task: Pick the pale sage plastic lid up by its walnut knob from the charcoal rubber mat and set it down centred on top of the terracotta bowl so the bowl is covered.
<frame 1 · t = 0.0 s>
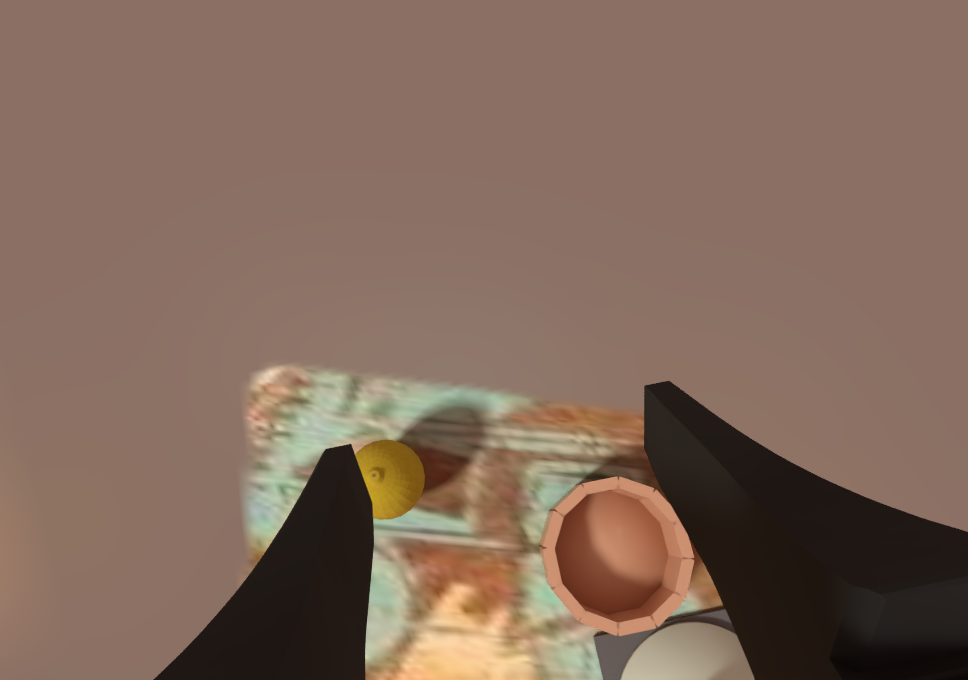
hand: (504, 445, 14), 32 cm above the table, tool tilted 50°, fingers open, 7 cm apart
lemon: (395, 482, 46), on the table
bowl: (607, 549, 44), on the table
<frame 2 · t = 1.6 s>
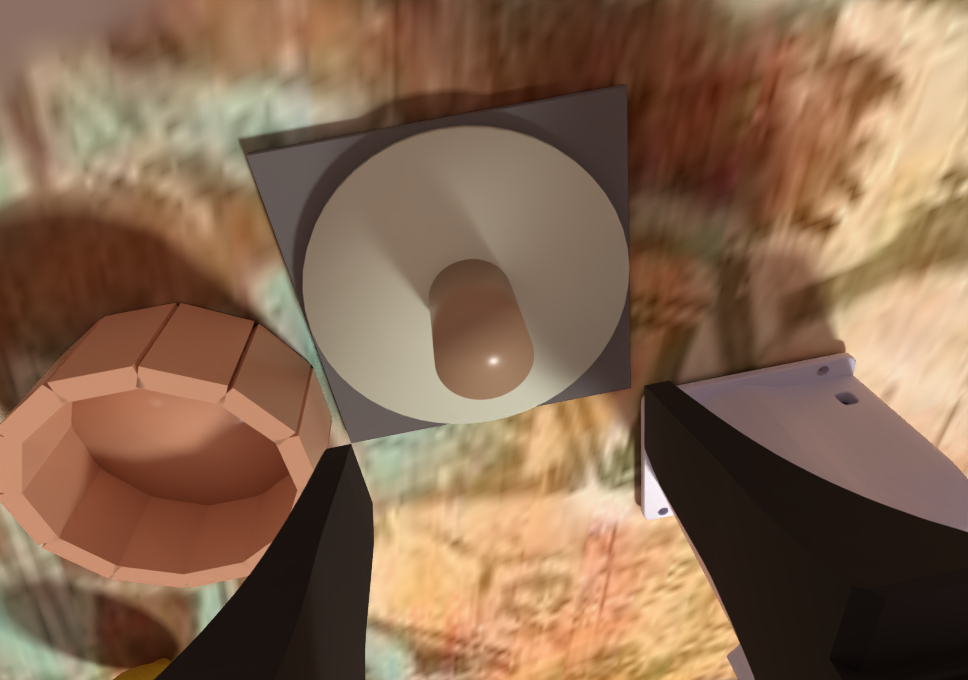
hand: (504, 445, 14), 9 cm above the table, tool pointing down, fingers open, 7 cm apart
lemon: (165, 656, 31), on the table
lid: (469, 290, 21), resting on mat
mat: (468, 285, 22), on the table
bowl: (198, 417, 23), on the table
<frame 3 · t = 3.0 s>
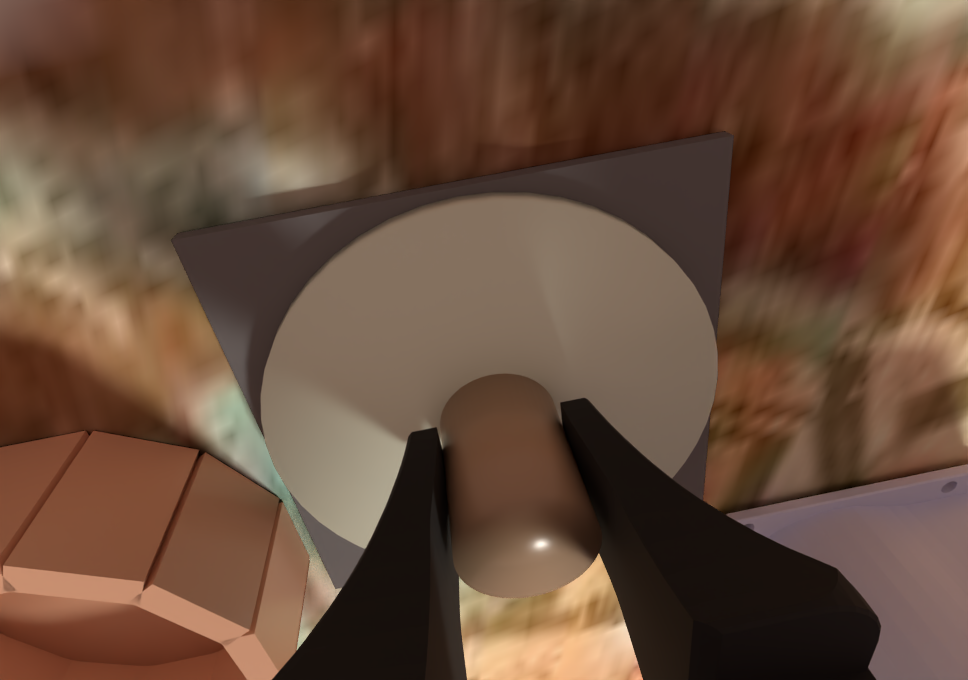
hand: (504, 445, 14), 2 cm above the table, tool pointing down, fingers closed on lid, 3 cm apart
lid: (495, 407, 15), resting on mat, touching gripper
mat: (493, 397, 16), on the table
bowl: (130, 564, 17), on the table
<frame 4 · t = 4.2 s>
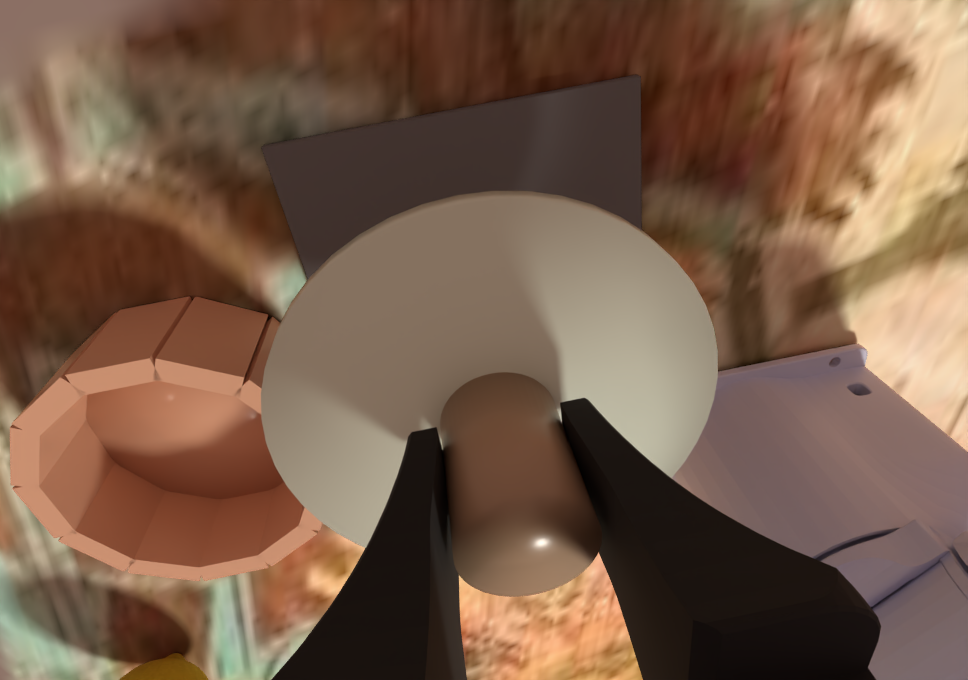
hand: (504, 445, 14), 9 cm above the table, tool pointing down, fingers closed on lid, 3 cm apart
lemon: (178, 651, 31), on the table
lid: (495, 405, 15), point 7 cm above the table, touching gripper
mat: (480, 277, 22), on the table
bowl: (212, 411, 23), on the table
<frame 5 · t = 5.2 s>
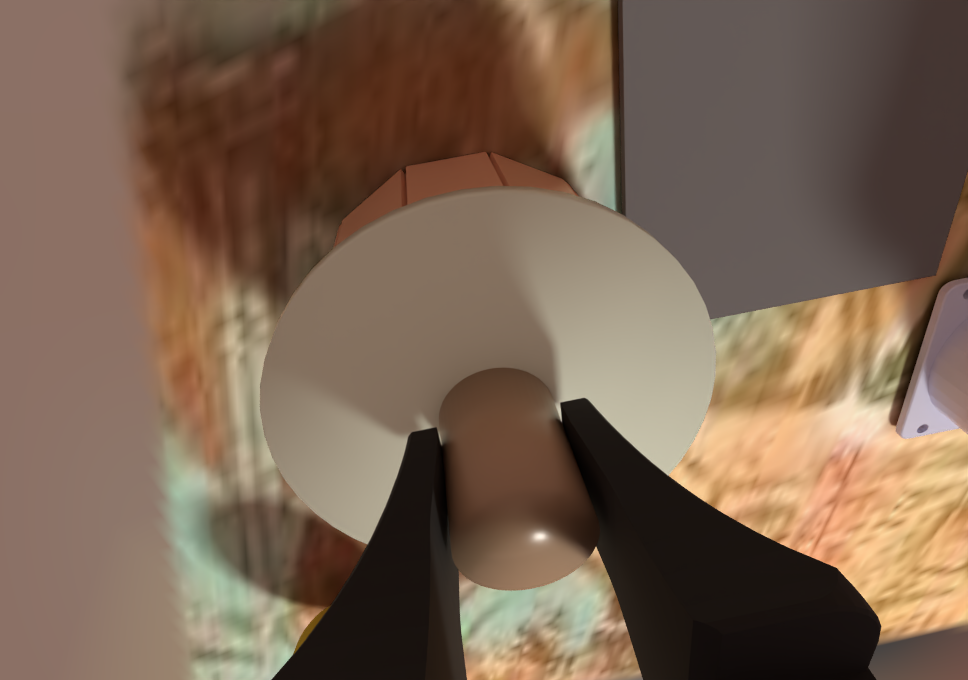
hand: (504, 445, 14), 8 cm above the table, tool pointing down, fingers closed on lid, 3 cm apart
lid: (493, 401, 15), point 6 cm above the table, touching gripper
mat: (800, 140, 19), on the table
bowl: (471, 300, 21), on the table
when the fingers open (7 cm above the table, at t = 5.7 s): lid drops 1 cm, resting on bowl.
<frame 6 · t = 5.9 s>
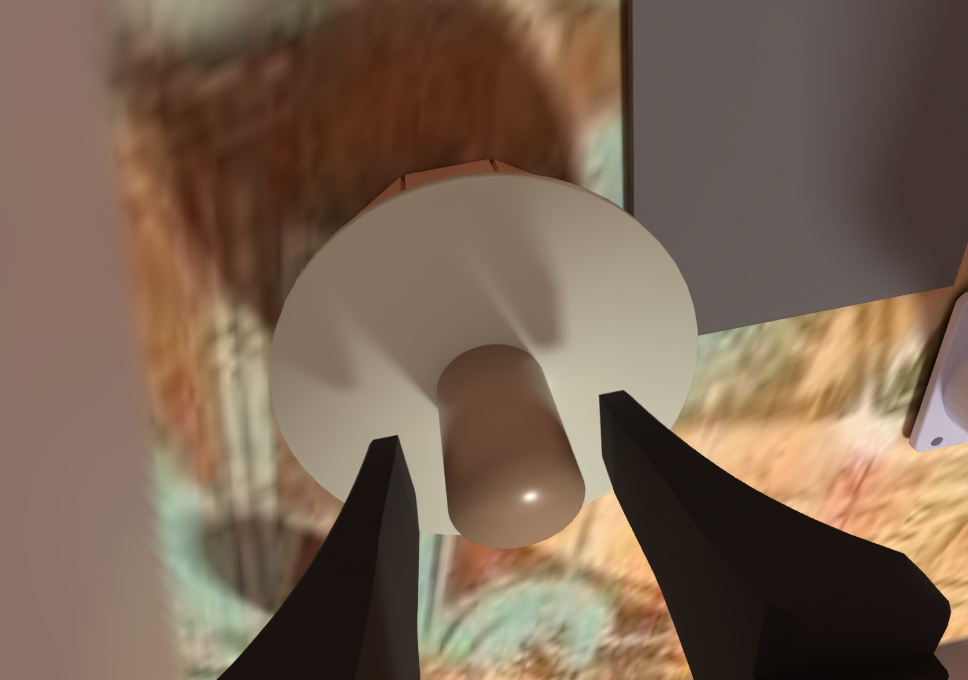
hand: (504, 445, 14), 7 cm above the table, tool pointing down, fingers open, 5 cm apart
lid: (488, 377, 16), point 4 cm above the table, touching bowl
mat: (815, 147, 18), on the table
bowl: (473, 312, 20), on the table
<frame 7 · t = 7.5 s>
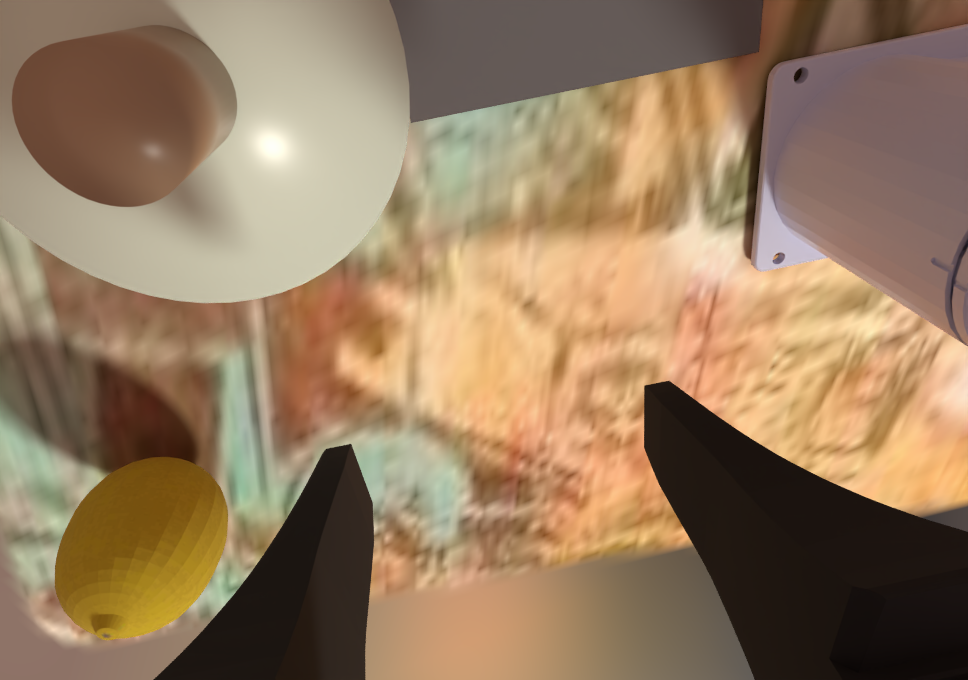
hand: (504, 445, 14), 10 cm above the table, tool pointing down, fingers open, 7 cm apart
lemon: (181, 463, 26), on the table
lid: (179, 90, 15), point 4 cm above the table, touching bowl
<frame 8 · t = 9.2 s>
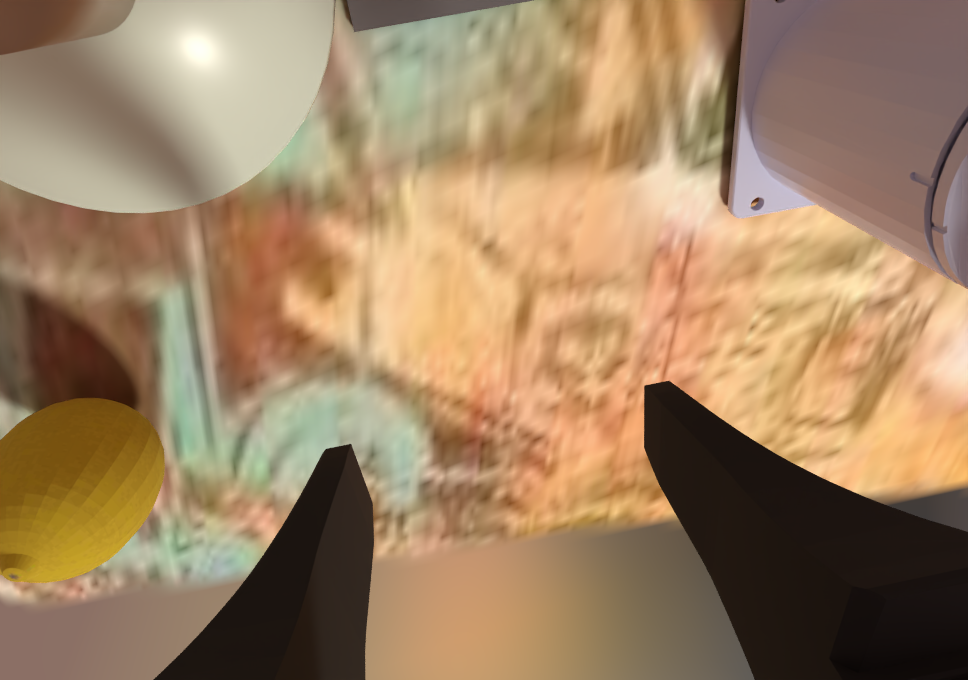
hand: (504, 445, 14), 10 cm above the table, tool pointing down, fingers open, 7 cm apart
lemon: (122, 410, 25), on the table
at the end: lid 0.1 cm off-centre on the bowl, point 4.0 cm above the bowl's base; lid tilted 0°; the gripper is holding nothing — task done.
